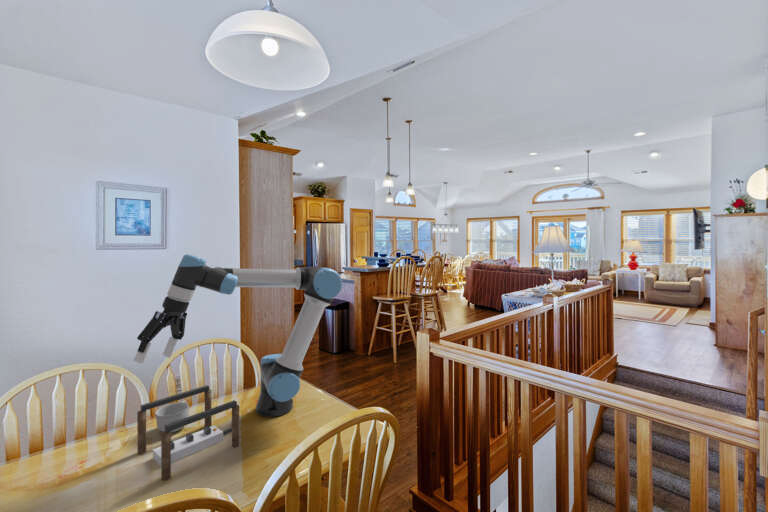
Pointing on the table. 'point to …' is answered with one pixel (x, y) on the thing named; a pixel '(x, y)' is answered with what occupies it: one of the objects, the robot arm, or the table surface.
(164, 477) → the posts
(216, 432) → the switch strip
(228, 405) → the cable
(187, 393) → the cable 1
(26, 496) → the table surface
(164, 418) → the teacup
